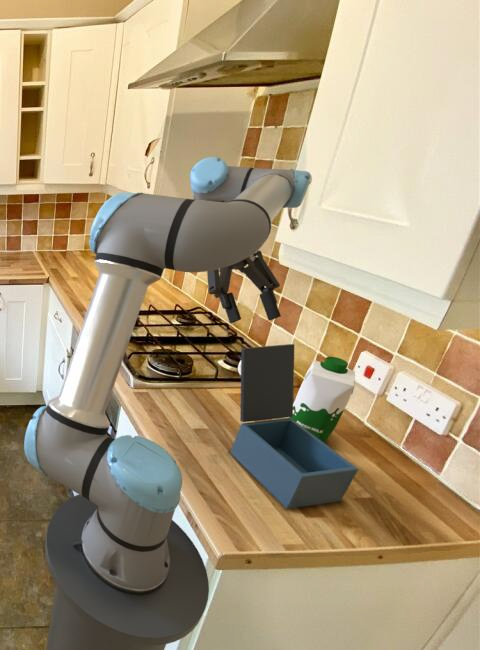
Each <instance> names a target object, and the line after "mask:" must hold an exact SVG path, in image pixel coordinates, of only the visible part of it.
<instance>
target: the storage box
mask: <svg viewBox="0 0 480 650" xmlns="http://www.w3.org/2000/svg"><path fill="white" fill-rule="evenodd" d="M230 454H231V456H233V457H234V459H236V460H237V461H238V462H239V463H240V465H242V466H243V468H245V470H247V471H248V472H249V473H250V474H251V475H252V476H253V477H254V479H256V480H257V481H258V482H259V483H260V484H261V485H262V486H263V487H264V488H265V489H266V490H267V491H268V492H269V493H270V494H271V495H272V496H273V497H274V498H275V499H276V500H277V501H278V502H279V503H280V505H282V506H283V507H284V508H285V509H286V510H288V509H295V508H302V507H310V506H315V505H323V504H329V503H336V502H341V501H342V500H343V498H344V497H345V495H346V493H347V491H348V489H349V487H350V486H351V484H352V482H353V480H354V478H355V477H356V475H357V473H358V472H359V468H358V467H357V466H356V465H354V464H353V463H351V462H350V461H348V460H347V459H346V458H345V457H344V456H342V455H341V454H339V453H338V452H337V451H335V450H334V449H332V448H331V447H330V446H329V445H328V444H326V442H325V443H323V442H322V441H321V440H319V439H318V438H317V437H315V436H314V435H313V434H311V433H310V432H309V431H307V430H306V429H305V428H303V427H302V426H301V425H299V424H298V423H297V422H295V421H294V420H293V419H291V418H290V417H285V418H276V419H267V420H258V421H249V422H241V423H240V426H239V428H238V431H237V433H236V436H235V439H234V442H233V446H232V447H231V450H230Z"/></svg>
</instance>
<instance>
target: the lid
mask: <svg viewBox="0 0 480 650" xmlns="http://www.w3.org/2000/svg"><path fill="white" fill-rule="evenodd" d="M240 361H241V375H240V417H239V418H240V419H239V421H240V422H241V423H250V422H259V421H268V420H276V419H285V418H290V417H293V403H294V380H295V378H294V376H295V344H294V343H288V344H277V345H276V344H275V345H266V346H263V345H262V346H254V347H242V348H241V353H240Z"/></svg>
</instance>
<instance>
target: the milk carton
mask: <svg viewBox="0 0 480 650" xmlns="http://www.w3.org/2000/svg"><path fill="white" fill-rule="evenodd" d="M348 365H349V362H348V361H346V360H345V359H342V358H340V357H336V356H326V357H325V359H324V361H318V360H313V361H312V363H311V365H310V366H309V368H308V369H307V372H306V373H305V375H304V378H303V380H302V383H301V385H300V387H299V389H298V392H297V394H296V397H295V398H294V400H293V417H289V418H291V419H293V420H294V421H295V422H297V423H298V424H299V425H301V426H302V427H303V428H305V429H306V430H307V431H309V432H310V433H311V434H313V435H314V436H315V437H317V438H318V439H319V440H321V441H322V442H323V443H325V444H326V442H327V440H329V438H330V436H331V434H332V433H333V432H334V430H335V429H336V427H337V425H338V424H339V421H340V419H341V417H342V415H343V413H344V411H345V409H346V407H347V406H348V403H349V401H350V399H351V396H352V395H353V394H354V389H355V385H356V371H355V370H351V369H348Z"/></svg>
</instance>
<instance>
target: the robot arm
mask: <svg viewBox="0 0 480 650" xmlns="http://www.w3.org/2000/svg"><path fill="white" fill-rule="evenodd" d="M311 178H312V175H311V172H309V171H306V170H299V169H294V168H290V169H283V168H260V167H250V166H249V167H247V166H232V165H231V166H230V165H228V164H227V163H226V161H225V160H224V159H223V158H220V157H218V156H209V157H205V158H203V159H201V160H200V161H198V162H196V164H195V165H194V166H193V167H192V168H191V171H190V173H189V179H190V183H189V184H190V188H191V193H192V197H193V199H192V198H184V197H175V196H168V195H161V194H152V193H146V192H145V193H144V192H119V193H116V194H114V195H112V196H111V197H110V198H108V199H107V200H106V201H105V202H104V203H103V204H102V205H101V207H100V209H98V211H97V214H96V215H95V217H94V219H93V222H92V225H91V228H90V232H89V236H90V238H89V240H88V245H89V247H90V249H89V250H90V251H91V252H92V253H93V254H95V257H94V261H93V264H94V265H95V267H96V270H97V271H98V275H97V279H96V282H95V284H94V288H93V291H92V293H91V297H90V301H89V303H88V307H87V310H86V313H85V315H84V318H83V322H82V325H81V327H80V331H79V334H78V337H77V340H76V343H75V346H74V349H73V352H72V355H71V359H70V362H69V365H68V367H67V370H66V374H65V376H64V380H63V382H62V386H61V388H60V392H59V395H57V396H56V397H53V398H51V399H49V400H48V403H47V405H44V406H43V405H42V406H40V407H39V408H38V409H37V410H36V411H35V412H34V413H33V414H32V419H30V420H29V422H28V424H27V428H26V431H25V435H24V443H23V444H24V445H23V447H24V455H25V457H26V460H27V462H28V463H29V464H30V465H31V466H33V467H34V468H35V469H37V470H38V471H40V472H41V473H42V474H43V476H45V477H48V478H51V479H52V480H53V481H55V482H57V483H59V484H60V485H62V486H64V487H65V488H67V489H69V490H71V491H73V492H74V493H76V494H77V495H81V496H83V497H84V498H86V499H88V500H89V501H91V502H93V503H94V504H96V505H98V509H97V510H96V511H95V512H94V514H93V515H92V516H91V517H90V518H89V519H88V521H87V522H86V524H85V526H84V528H83V531H82V537H81V541H78V542H73V546H74V547H78V546H81V549H82V553H83V556H84V559H85V561H86V563H87V565H88V566H89V568H90V569H91V570H92V572H93V573H94V574H95V575H96V576H97V577H98V578H99V579H100V580H102V581H103V582H104V583H105V584H107V585H109V586H110V587H112V588H114V589H116V590H118V591H121V592H124V593H127V594H133V595H144V594H149V593H152V592H154V591H156V590H158V589H159V588H160V587H161V586H162V585H163V584H164V582H165V580H166V578H167V575H168V572H169V568H170V555H169V550H168V544H167V538H166V537H167V534H168V531H169V528H170V524H171V521H172V520H173V518H174V514H175V511H176V509H177V508H178V505H179V504H180V501H181V492H182V487H183V474H182V471H181V469H180V466H179V465H177V461H176V460H175V458H174V457H173V455H172V454H171V453H169V451H168V450H166V449H165V448H164V447H162V446H161V445H160V444H158V443H157V442H155V441H153V440H150V439H149V438H146V437H143V436H140V435H134V437H133V436H132V435H129V434H126V435H120V436H118V437H116V438H114V437H112V436H111V435H108V432H109V429H110V426H111V422H110V420H109V418H108V416H107V414H106V410H107V407H108V405H109V402H110V399H111V396H112V393H113V390H114V387H115V384H116V381H117V378H118V375H119V372H120V369H121V366H122V364H123V361H124V357H125V354H126V351H127V349H128V347H129V343H130V340H131V337H132V334H133V332H134V328H135V326H136V322H137V320H138V316H139V314H140V311H141V308H142V305H143V303H144V299H145V297H146V293H147V290H148V288H149V287H150V286H151V285H153V284H154V283H157V282H158V281H160V280H161V278H162V276H163V273H164V270H165V269H167V270H171V271H178V272H182V273H203V272H204V273H205V272H206V276H207V289H208V294H209V295H210V296H212V295H213V296H214V298H216V299H219V302H220V304H221V308H222V309H223V310H225V313H226V316H227V320H228V322H229V324H234V323H236V322H238V321H241V320H242V317H241V313H240V311H239V308H238V305H237V301H236V299H235V296H234V294H233V292H229V289H230V284H231V278H232V273H233V270H235V271H239V272H240V273H242V274H244V275H245V276H246V277H247V278H248V279H249V280H250V281H251V282H252V284H253V285H254V286H255V288H257V289H258V290H259V291H260V294H259V298H260V300H261V301H260V302H261V303H262V306H263V309H264V312H265V315H266V318H267V320H268V321H273V320H276V319H277V318H280V317H282V315H281V313H280V310H279V307H278V305H277V304H278V300H277V297H276V294H275V292H274V290H276V289H278V288H280V286H281V284H280V282H279V280H278V279H277V278H276V276H275V275H274V273H273V271H272V270H271V268H270V267H269V265H268V264H267V261H265V259H264V256H263V253H262V251H261V250H260V249H261V248H262V247H263V245H264V244H265V243H266V242H267V240H268V238H269V236H270V234H271V231H272V222H273V221H274V219H275V218H276V217H277V216H278V214H279V213H280V212H281V210H282V209H286V208H287V209H288V208H289V209H295V208H298V207H300V206H301V205H302V203H303V201H304V199H305V196H306V193H307V191H308V189H309V185H310V181H311Z"/></svg>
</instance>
